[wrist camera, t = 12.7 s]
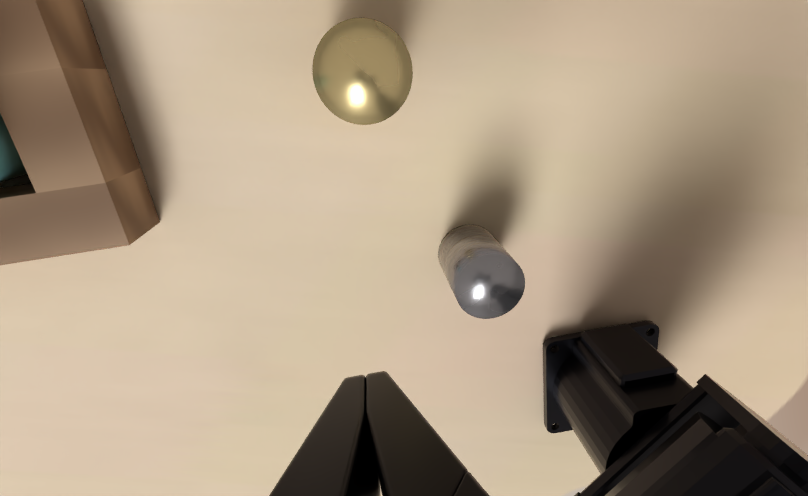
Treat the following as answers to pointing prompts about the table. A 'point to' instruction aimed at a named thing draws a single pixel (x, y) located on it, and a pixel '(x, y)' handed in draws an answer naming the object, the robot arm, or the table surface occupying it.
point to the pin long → (9, 155)
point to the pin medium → (362, 71)
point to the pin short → (480, 272)
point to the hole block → (64, 139)
